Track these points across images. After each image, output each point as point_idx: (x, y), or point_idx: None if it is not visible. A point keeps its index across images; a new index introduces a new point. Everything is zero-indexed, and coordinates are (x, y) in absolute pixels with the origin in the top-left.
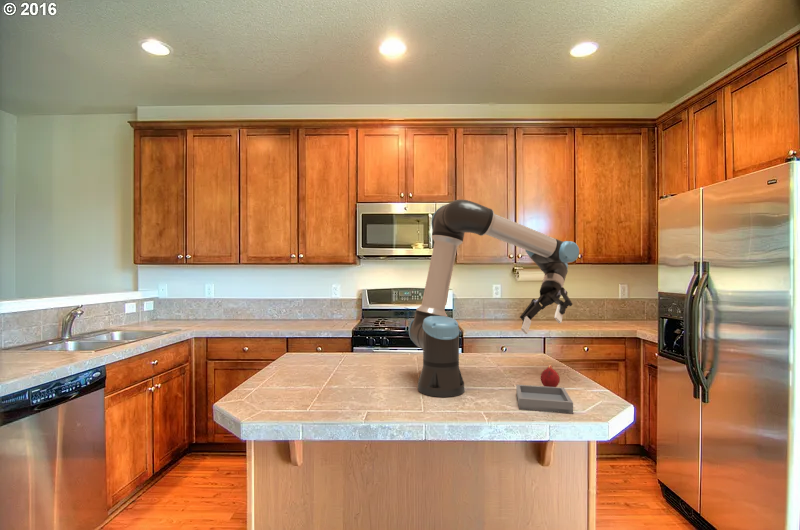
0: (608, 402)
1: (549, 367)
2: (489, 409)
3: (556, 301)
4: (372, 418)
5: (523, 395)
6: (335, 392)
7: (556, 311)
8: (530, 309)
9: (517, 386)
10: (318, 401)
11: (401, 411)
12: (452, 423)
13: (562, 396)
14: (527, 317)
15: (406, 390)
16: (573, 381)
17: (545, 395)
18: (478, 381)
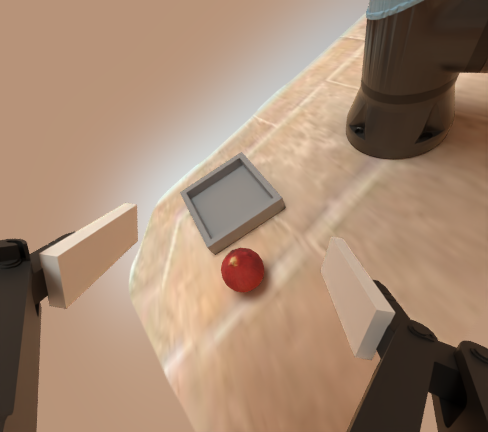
0: (152, 287)
1: (232, 256)
2: (274, 136)
3: (25, 311)
4: (344, 42)
5: (262, 195)
6: None
7: (104, 221)
8: (416, 411)
9: (273, 190)
10: None
11: (342, 64)
12: (277, 91)
13: (209, 232)
14: (369, 312)
15: None
16: (236, 414)
17: (234, 222)
18: (404, 213)
